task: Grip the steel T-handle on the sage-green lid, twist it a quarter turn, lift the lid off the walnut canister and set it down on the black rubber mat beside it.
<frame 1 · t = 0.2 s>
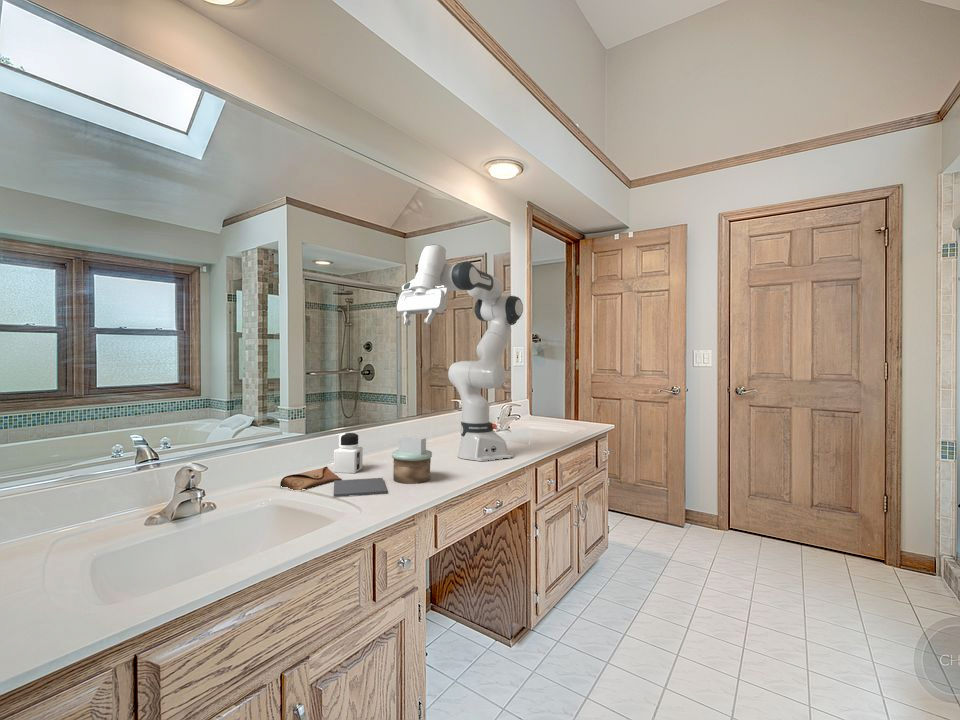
hand: (416, 324, 155), 51 cm above the counter, tool tilted 20°, fingers open, 8 cm apart
canister: (411, 478, 152), on the counter
sunglasses case: (313, 485, 145), on the counter
lid: (412, 461, 152), point 6 cm above the counter, touching canister
mat: (359, 488, 140), on the counter
container: (348, 471, 161), on the counter
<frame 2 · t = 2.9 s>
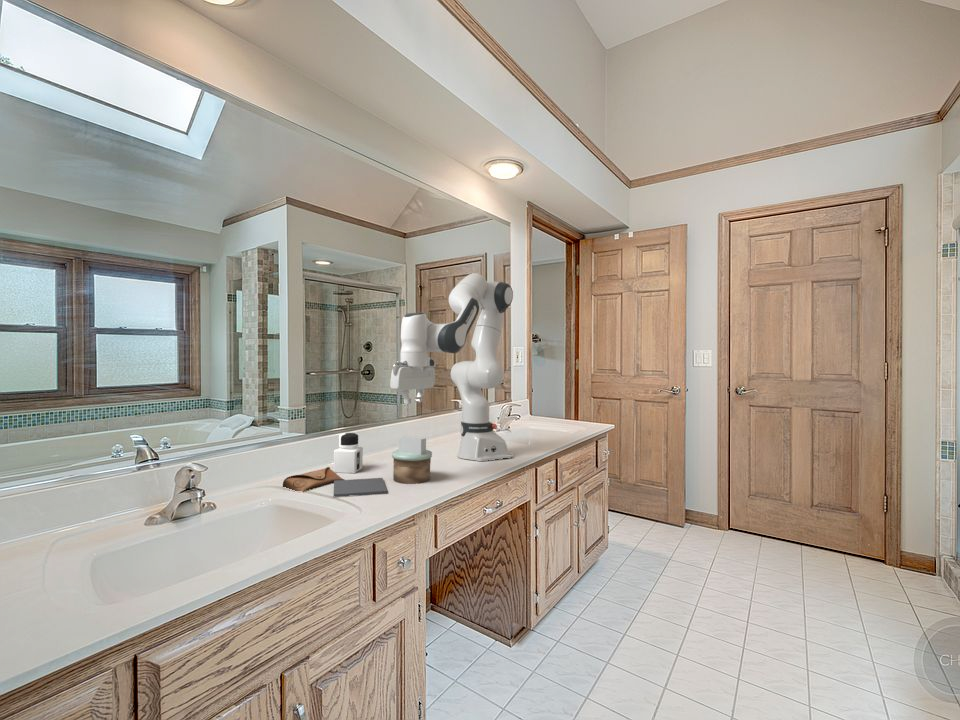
hand: (413, 403, 152), 25 cm above the counter, tool pointing down, fingers open, 5 cm apart
sunglasses case: (315, 486, 144), on the counter
everything else where it was.
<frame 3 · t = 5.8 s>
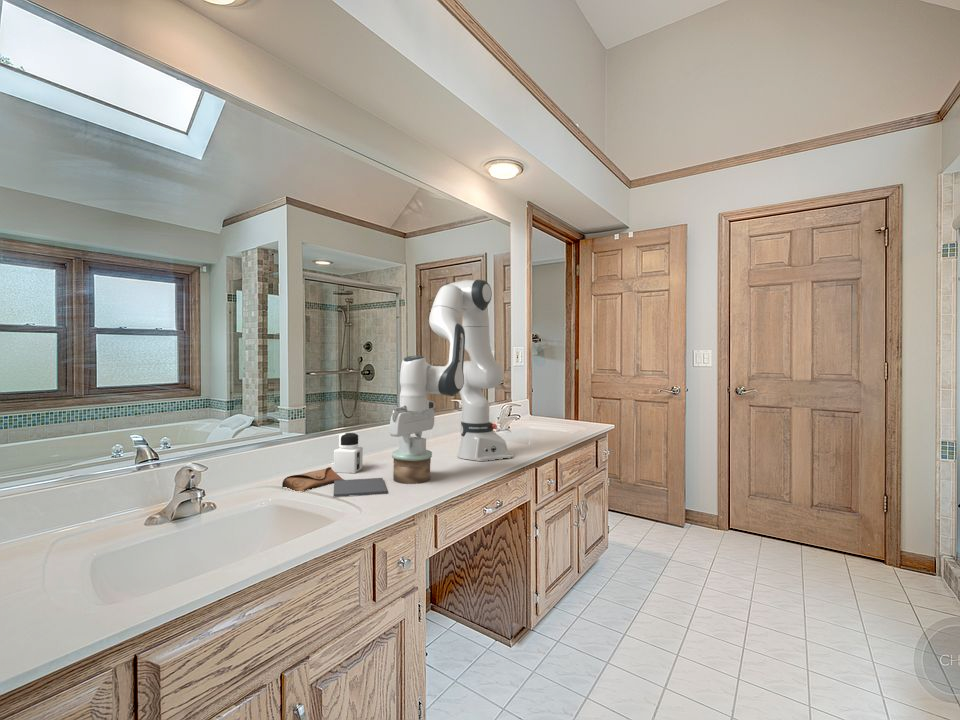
hand: (412, 446, 152), 11 cm above the counter, tool pointing down, fingers closed on lid, 3 cm apart
lid: (412, 461, 152), point 6 cm above the counter, touching canister, gripper
everything else where it was.
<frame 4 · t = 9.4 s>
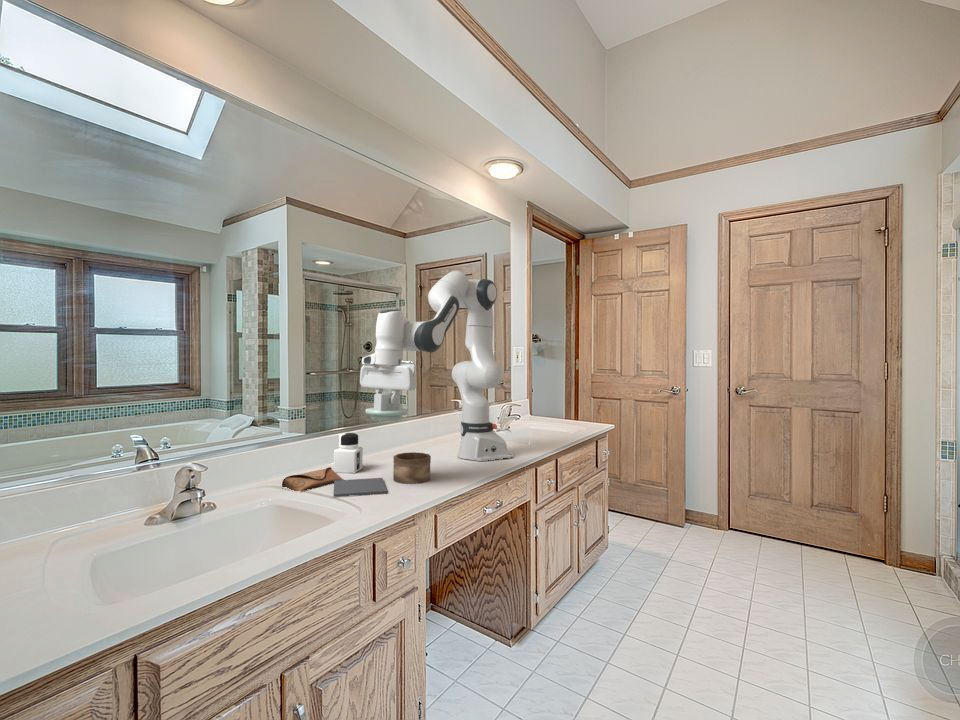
hand: (386, 403, 145), 26 cm above the counter, tool pointing down, fingers closed on lid, 3 cm apart
lid: (386, 419, 145), point 21 cm above the counter, touching gripper
everything else where it was.
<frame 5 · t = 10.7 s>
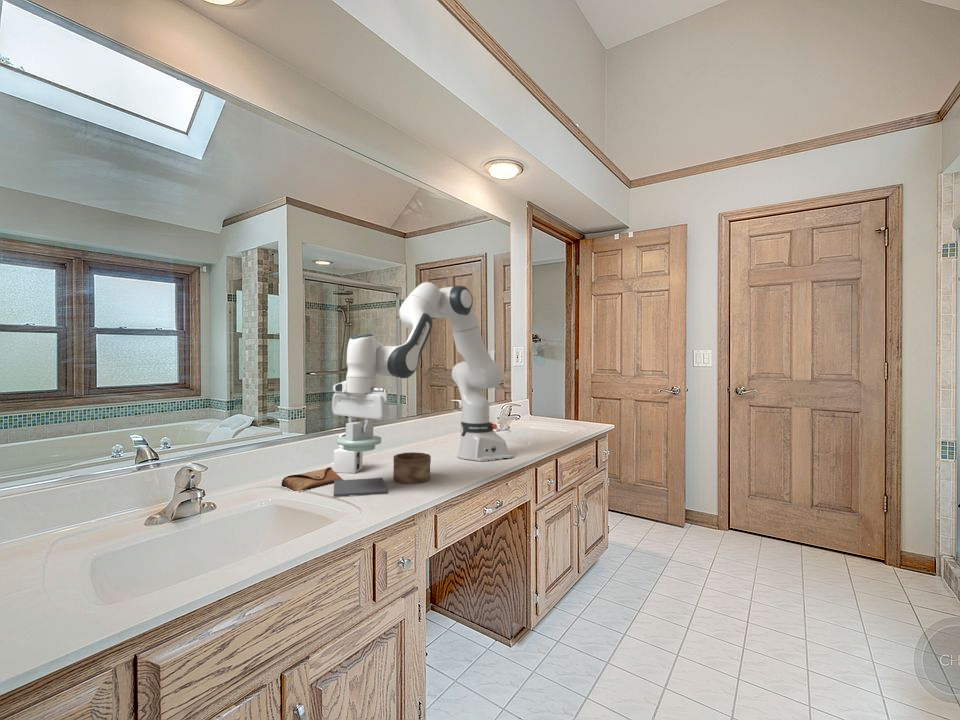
hand: (359, 432, 140), 17 cm above the counter, tool pointing down, fingers closed on lid, 3 cm apart
lid: (359, 448, 140), point 12 cm above the counter, touching gripper
everything else where it was.
when the fingers open (7 cm above the counter, at t = 12.9 s): lid drops 2 cm, resting on mat.
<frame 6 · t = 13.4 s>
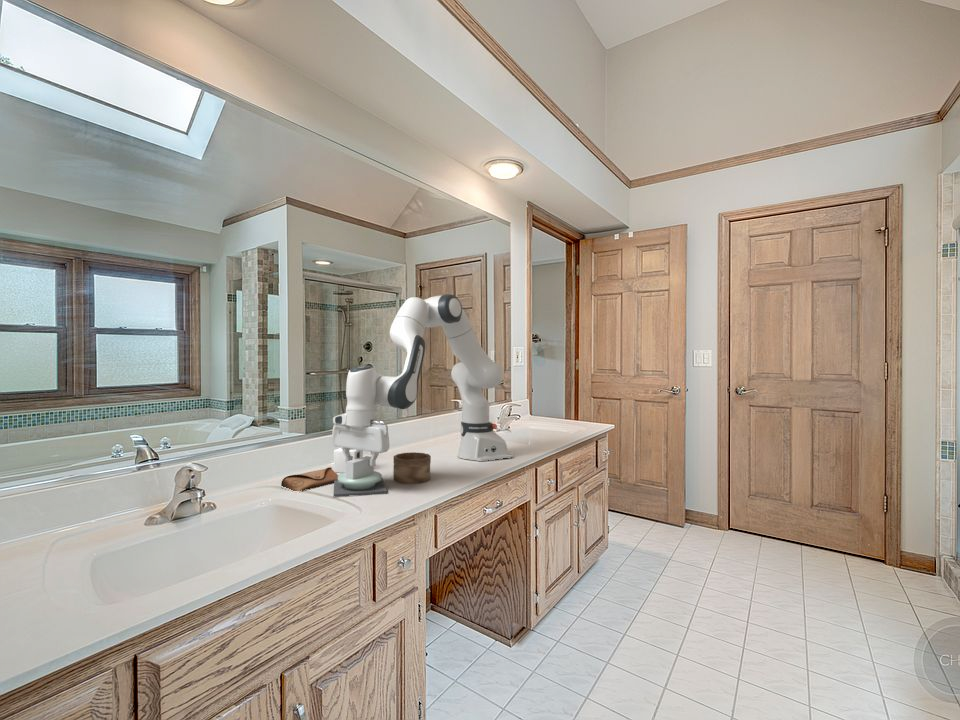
hand: (360, 464, 140), 7 cm above the counter, tool pointing down, fingers open, 8 cm apart
lid: (359, 485, 140), point 1 cm above the counter, touching mat
everything else where it was.
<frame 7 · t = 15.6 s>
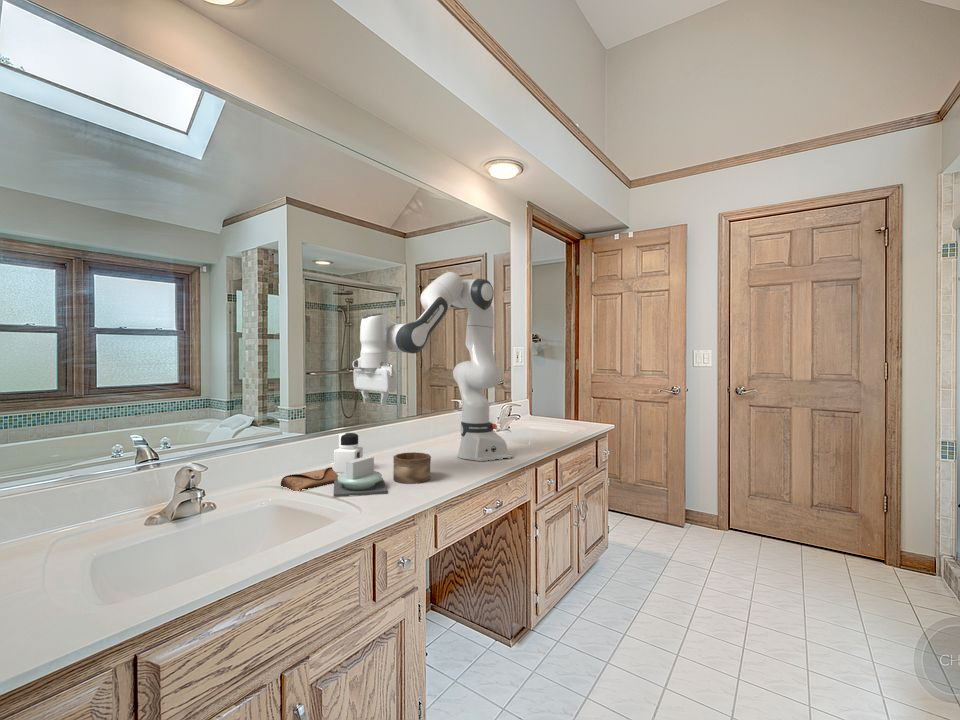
hand: (374, 404, 152), 24 cm above the counter, tool pointing down, fingers open, 8 cm apart
nothing on the counter moved.
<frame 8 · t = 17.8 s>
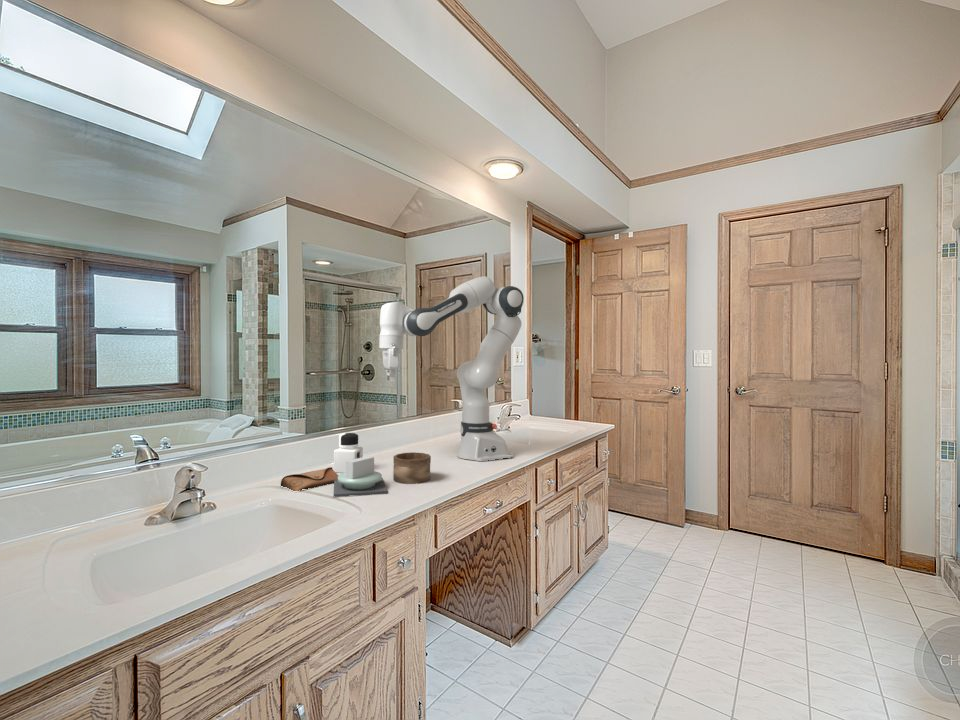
hand: (390, 381, 172), 31 cm above the counter, tool pointing down, fingers open, 8 cm apart
nothing on the counter moved.
at the end: lid inside the target area on the mat (0.1 cm from its centre), point 0.8 cm above the mat's base; lid tilted 1°; the gripper is holding nothing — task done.
